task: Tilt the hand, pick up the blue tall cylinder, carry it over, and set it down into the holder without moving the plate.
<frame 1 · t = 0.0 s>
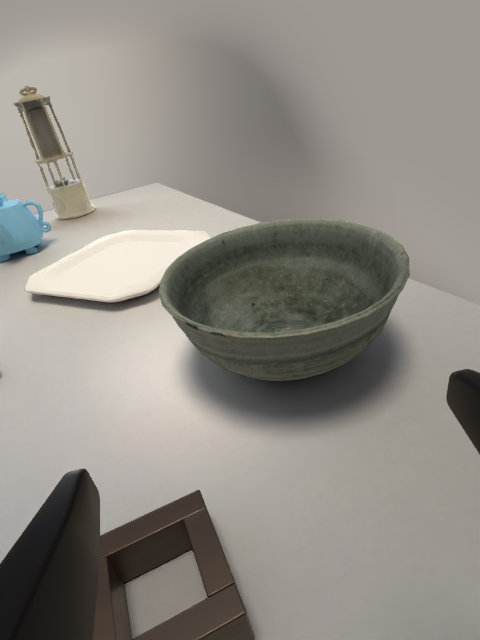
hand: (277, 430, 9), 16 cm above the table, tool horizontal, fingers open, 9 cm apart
plate: (126, 270, 64), on the table
bowl: (287, 353, 38), on the table
lamp: (76, 213, 106), on the table
holder: (168, 603, 21), on the table
teapot: (17, 253, 82), on the table
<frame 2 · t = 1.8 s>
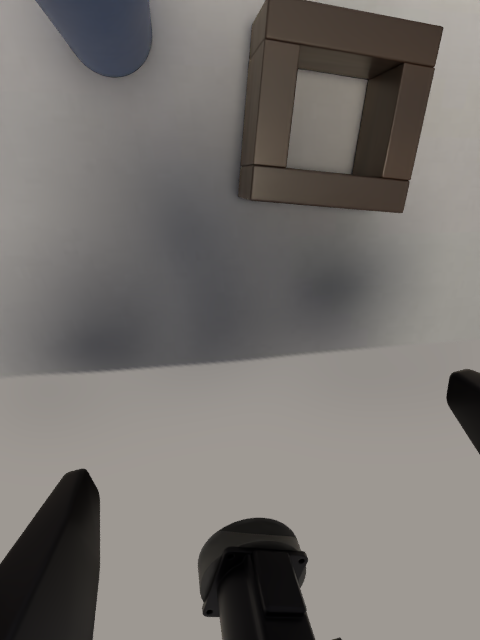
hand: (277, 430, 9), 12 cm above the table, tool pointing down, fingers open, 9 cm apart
blue tall cylinder: (109, 29, 16), on the table
holder: (317, 125, 18), on the table
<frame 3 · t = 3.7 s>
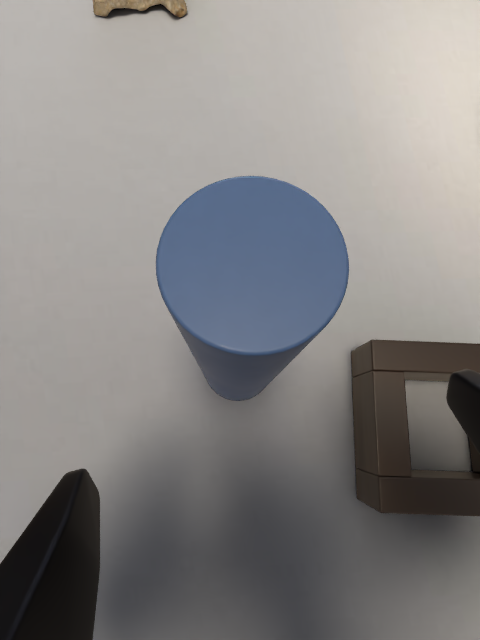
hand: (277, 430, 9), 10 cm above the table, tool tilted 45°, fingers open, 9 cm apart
blue tall cylinder: (237, 366, 20), on the table
holder: (424, 424, 19), on the table
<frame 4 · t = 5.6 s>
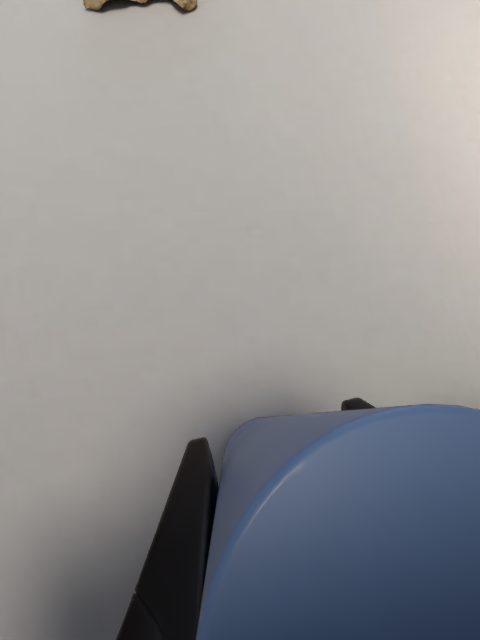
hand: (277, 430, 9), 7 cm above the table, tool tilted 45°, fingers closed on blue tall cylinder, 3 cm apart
blue tall cylinder: (266, 461, 15), on the table, touching gripper
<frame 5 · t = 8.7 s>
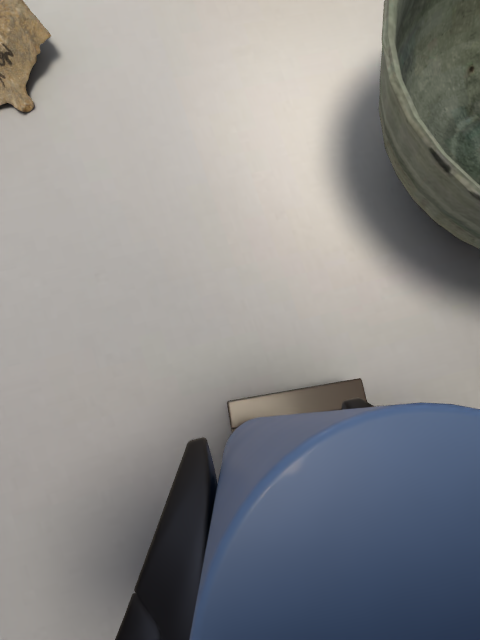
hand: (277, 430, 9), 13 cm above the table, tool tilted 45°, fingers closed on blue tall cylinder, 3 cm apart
blue tall cylinder: (265, 460, 15), point 7 cm above the table, touching gripper
artifact: (3, 77, 28), on the table
bowl: (478, 175, 27), on the table
holder: (298, 455, 22), on the table
when the fingers open (7 cm above the table, at t = 11.6 s): blue tall cylinder stays where it is, resting in holder.
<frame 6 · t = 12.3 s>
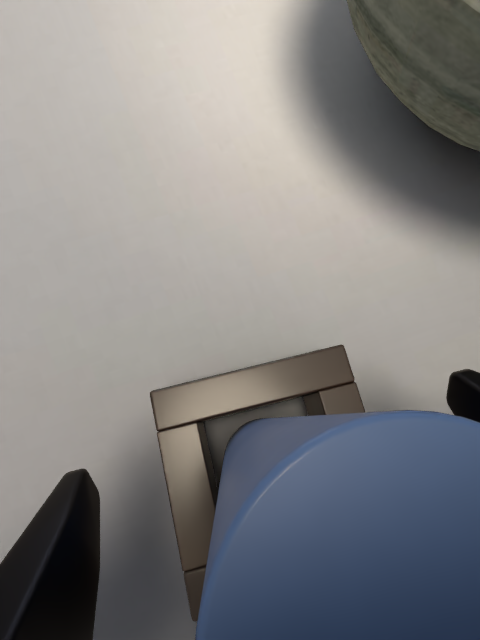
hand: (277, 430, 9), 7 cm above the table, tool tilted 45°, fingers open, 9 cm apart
blue tall cylinder: (265, 461, 16), resting in holder
bowl: (477, 82, 21), on the table
holder: (266, 461, 16), on the table
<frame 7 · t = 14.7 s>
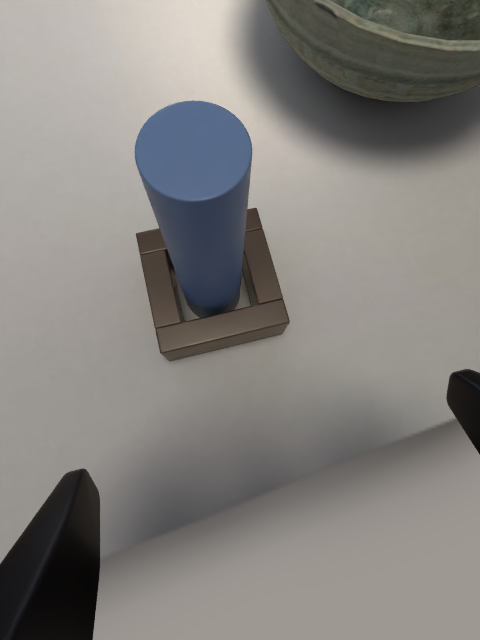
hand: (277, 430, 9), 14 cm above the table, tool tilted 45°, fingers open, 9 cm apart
blue tall cylinder: (212, 293, 24), resting in holder
bowl: (372, 52, 30), on the table
holder: (213, 293, 24), on the table
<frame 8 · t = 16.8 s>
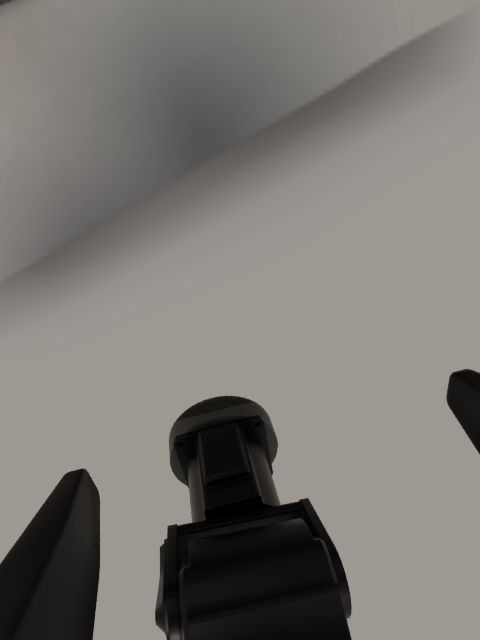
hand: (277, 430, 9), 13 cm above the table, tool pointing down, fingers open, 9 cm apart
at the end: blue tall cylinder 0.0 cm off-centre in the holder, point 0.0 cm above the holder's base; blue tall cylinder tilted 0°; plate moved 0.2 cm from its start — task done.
